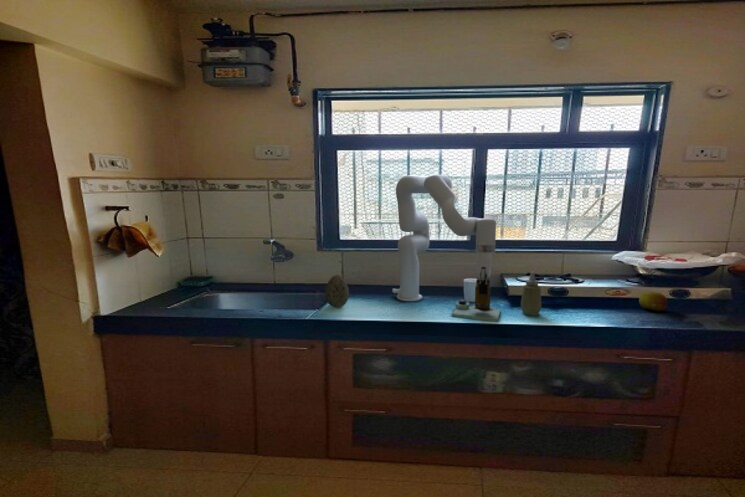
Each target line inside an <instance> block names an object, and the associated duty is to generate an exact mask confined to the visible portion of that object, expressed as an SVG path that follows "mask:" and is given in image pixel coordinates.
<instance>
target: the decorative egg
mask: <svg viewBox="0 0 745 497" xmlns="http://www.w3.org/2000/svg"><path fill="white" fill-rule="evenodd" d="M324 295H325V301H326V302H327V303H328V305H330V306H331V307H333V308H336V309H338V308H342V307H343V306H345V305H346V304H347V302H348V300H349V298H350V290H349V286H348V284H347V282H346V280H345V279H344V278H343V277H342V276H341V275H339V274H335V275H332V277H330V279H329V280H328V282H327V283H326V286H325V291H324Z"/></svg>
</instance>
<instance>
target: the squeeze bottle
mask: <svg viewBox="0 0 745 497" xmlns="http://www.w3.org/2000/svg"><path fill="white" fill-rule="evenodd" d="M541 290H542V289H541V286H540V285H539V280H537V279H536V275H535V272H534V271H530V274H529V277H528V279H526V280H525V284H524V285H523V288H522V292H521V293H522V294H521V300H520V307H521V311H522V314H523V315H526V316H534V317H535V316H538V315H539V314H540V311H541V309H542V307H543V306H542V291H541Z"/></svg>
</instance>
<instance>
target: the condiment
mask: <svg viewBox="0 0 745 497" xmlns="http://www.w3.org/2000/svg"><path fill="white" fill-rule="evenodd" d="M476 279H477V281H476V284H477V285H476V286H475V302H474V305H471V306H470V307H472V308H474V309H478V310H480V311H483V312H488V311H493V310H498V308H495V307H492V306H491V286H490V285H491V281H490V279H489V280H488V279H487V285H488V291H487V294H479V284H480V278H476ZM485 280H486V279H485Z"/></svg>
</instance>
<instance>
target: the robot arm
mask: <svg viewBox="0 0 745 497" xmlns="http://www.w3.org/2000/svg"><path fill="white" fill-rule="evenodd" d="M452 188H453V182H452V179H451V178H450V177H449V176H447V175H444V174H430V175H416V174H408V175H404V176H402V177H401V178H400V179H399V180H398V181H397V184H396V186H395V197H396V201H397V212H398V213H397V214H398V225H399V229H400V230H401V231H402V232H403V233H404V232H405V233H412V234H405V235H403V236H401V237H400V238H399V239H398V241H397V249H398V256H399V288H392V291H391V292H392V293H393V294H397V295H396V299H397V300H399V301H402V302H417V301H421V300H423V295H422V294H420V261H419V256H418V255H417V254H421V253H425V252H426V251H427V250H429V247H430V242H431V241H430V228H429V220H428V217H427V216H426V214H424V213H423V212H420V211H417V208H416V201H415V198H414V197H413V194H419V195H420V194H423V195H429V196H430V197H431V198H432V200H433V201H434V202H435V203H436V204H437V205H438V207H439V208H440V209H441V212H440V213H441V215H442V216H441V217H442V219H443V221H444V223H445V224H446V226H447V227H448V228H449V229H450V231H451V232H452V233H454V235H456V236H458V237H467V236H475V253H477V261H476V275H475V276H476V278H479V279H480V284H479V294H487V291H488V285H487V279H488V280H490V276H491V273H492V265H493V264H492V263H493V254H496V237H497V236H496V235H497V221H496V219H494V218H489V217H488V218H487V217H486V218H485V217H484V218H479V217H475V216H472V217H471V216H470V217H469V216H468V217H463V216H462V215H461V214H460V213H459V211H458V210H457V208H456V205H455V204H456V203H457V201H458V196H457V194H456V193H455V192H454V191H453V190H452ZM485 279H486V280H485Z"/></svg>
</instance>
